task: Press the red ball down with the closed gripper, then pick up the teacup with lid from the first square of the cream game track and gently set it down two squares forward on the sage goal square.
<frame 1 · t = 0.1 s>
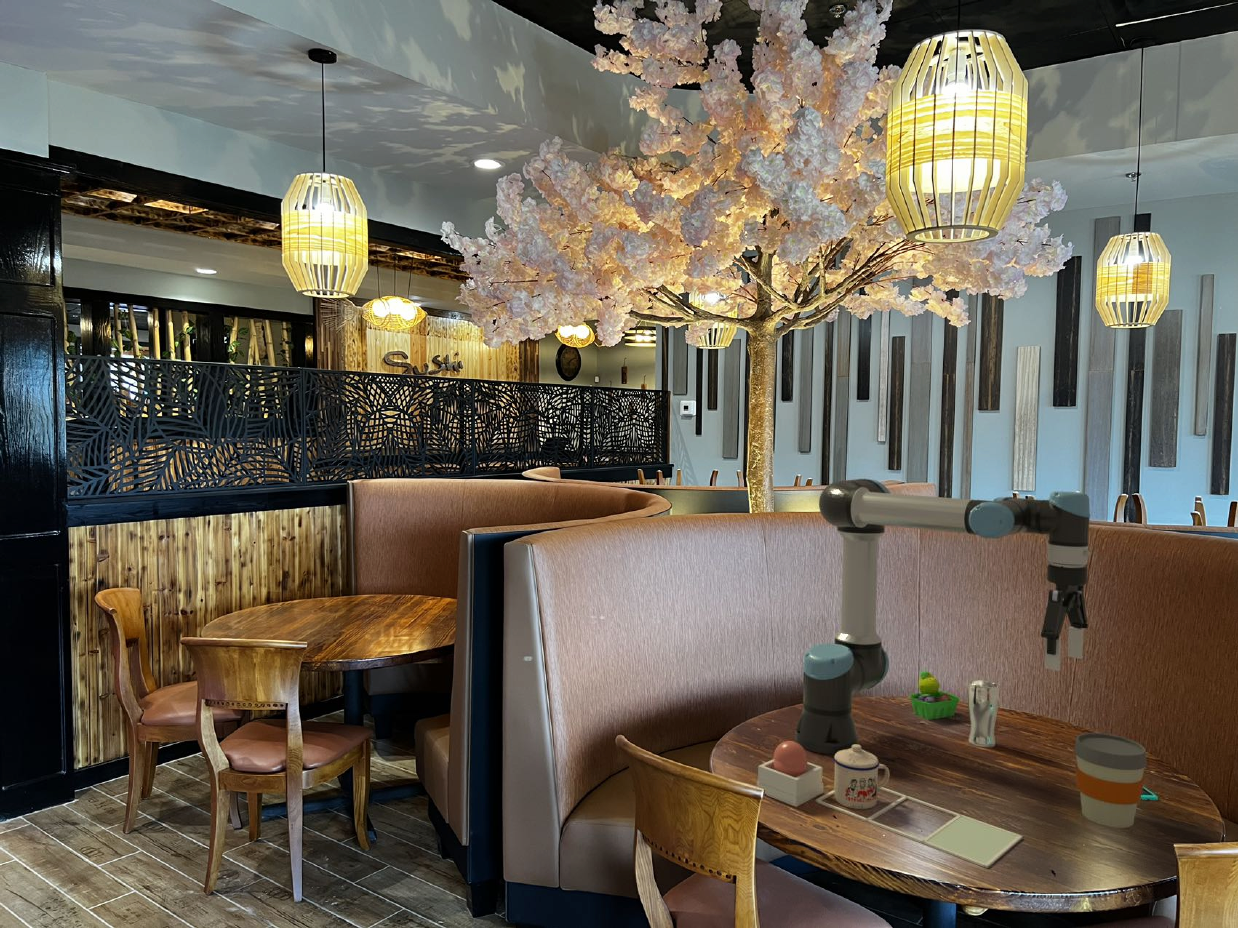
hand: (1063, 663, 178), 28 cm above the table, tool pointing down, fingers open, 13 cm apart
grey square box: (789, 791, 178), on the table
teacup with lid: (861, 800, 175), on the table
red ball: (790, 758, 178), point 7 cm above the table, slide at 0.0 cm
reusable coffee cup: (1107, 818, 168), on the table
beer glass: (981, 743, 207), on the table
game track: (914, 819, 166), on the table
handheld game console: (1114, 786, 184), on the table
fruit basket: (932, 715, 228), on the table
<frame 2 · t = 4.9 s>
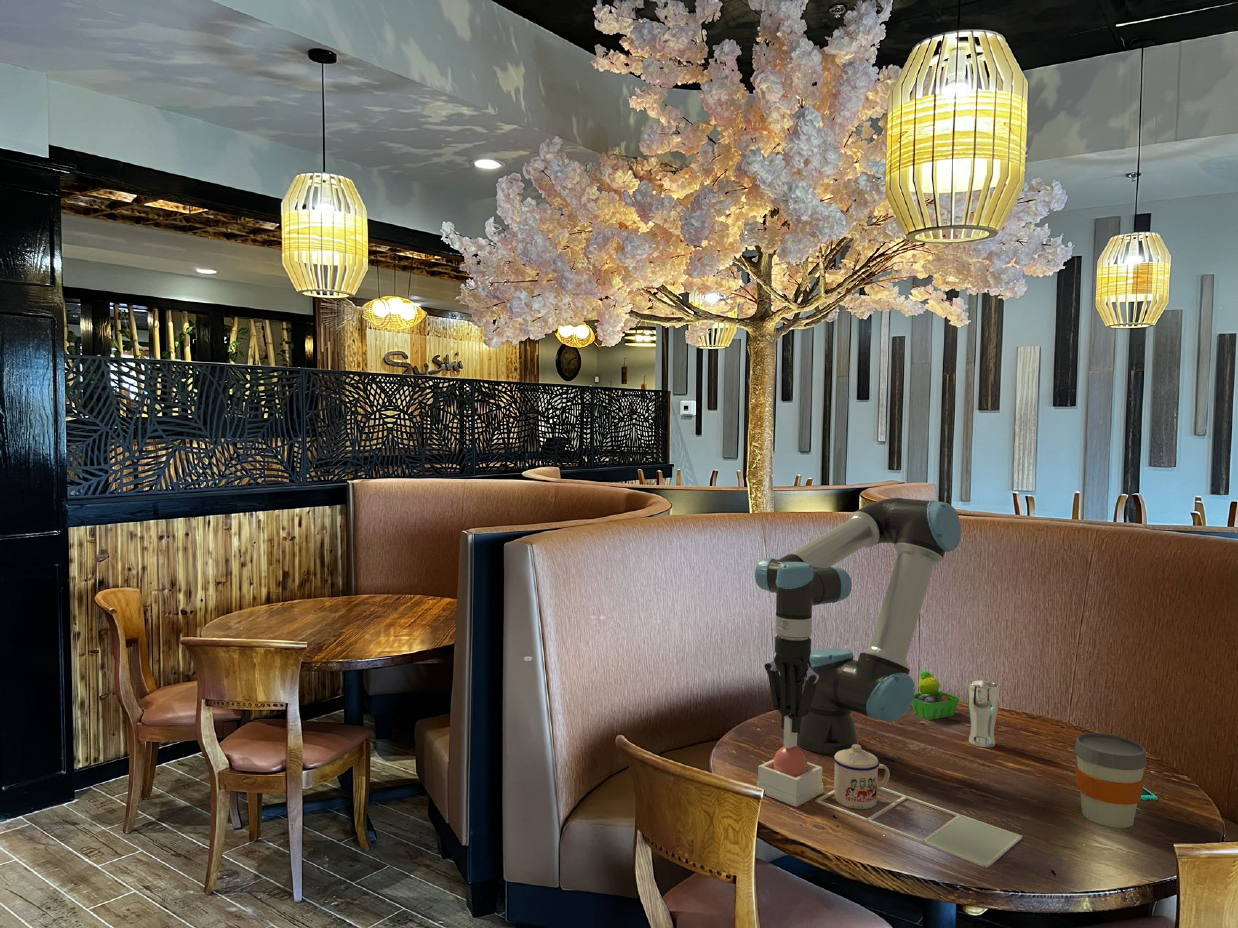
hand: (790, 745, 177), 10 cm above the table, tool pointing down, fingers closed
red ball: (790, 762, 178), point 6 cm above the table, slide at 1.0 cm, touching gripper
everything else where it was.
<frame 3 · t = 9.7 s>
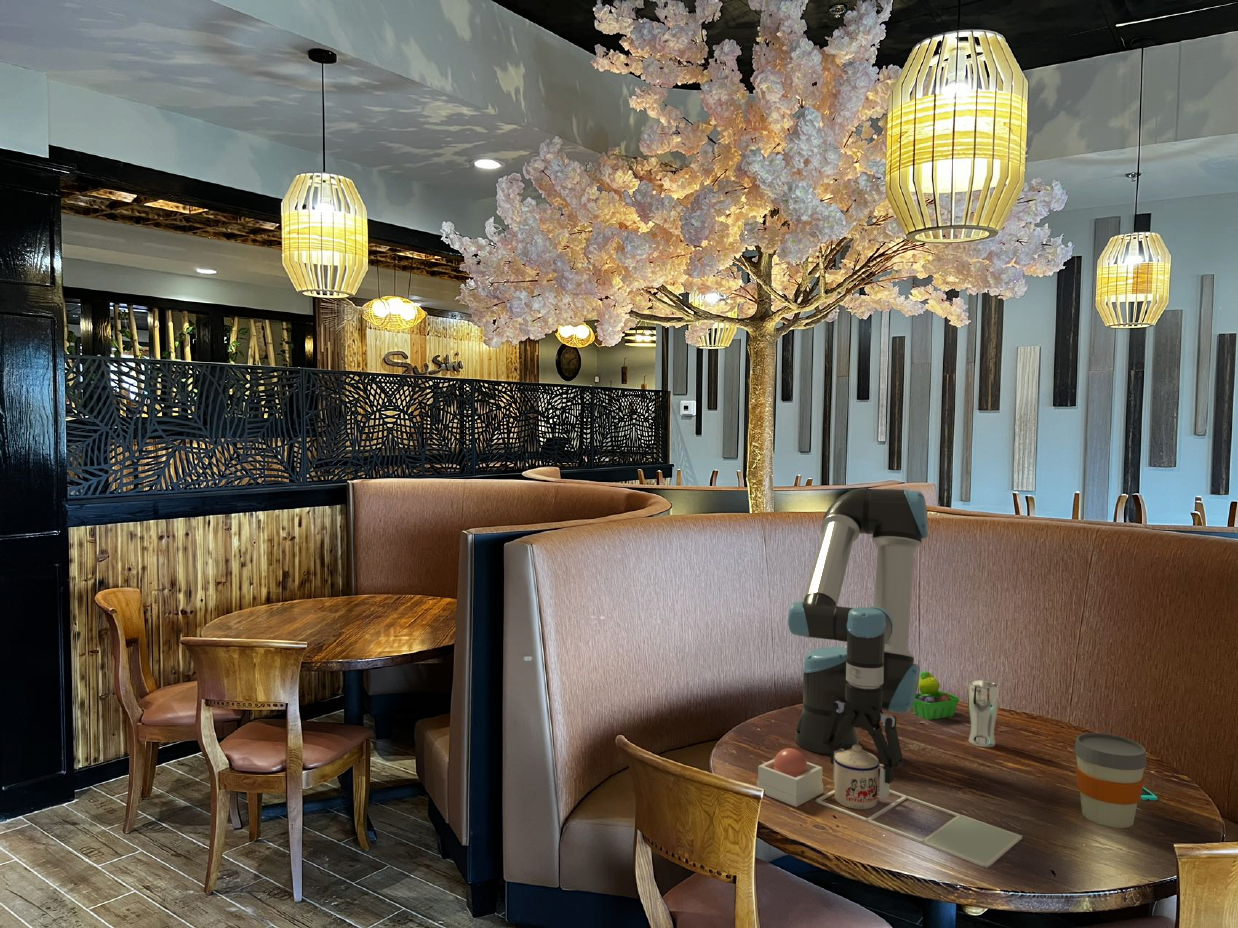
hand: (860, 788, 175), 2 cm above the table, tool pointing down, fingers open, 10 cm apart
teacup with lid: (862, 801, 174), on the table, touching gripper
red ball: (790, 765, 178), point 6 cm above the table, slide at 1.6 cm
everything else where it was.
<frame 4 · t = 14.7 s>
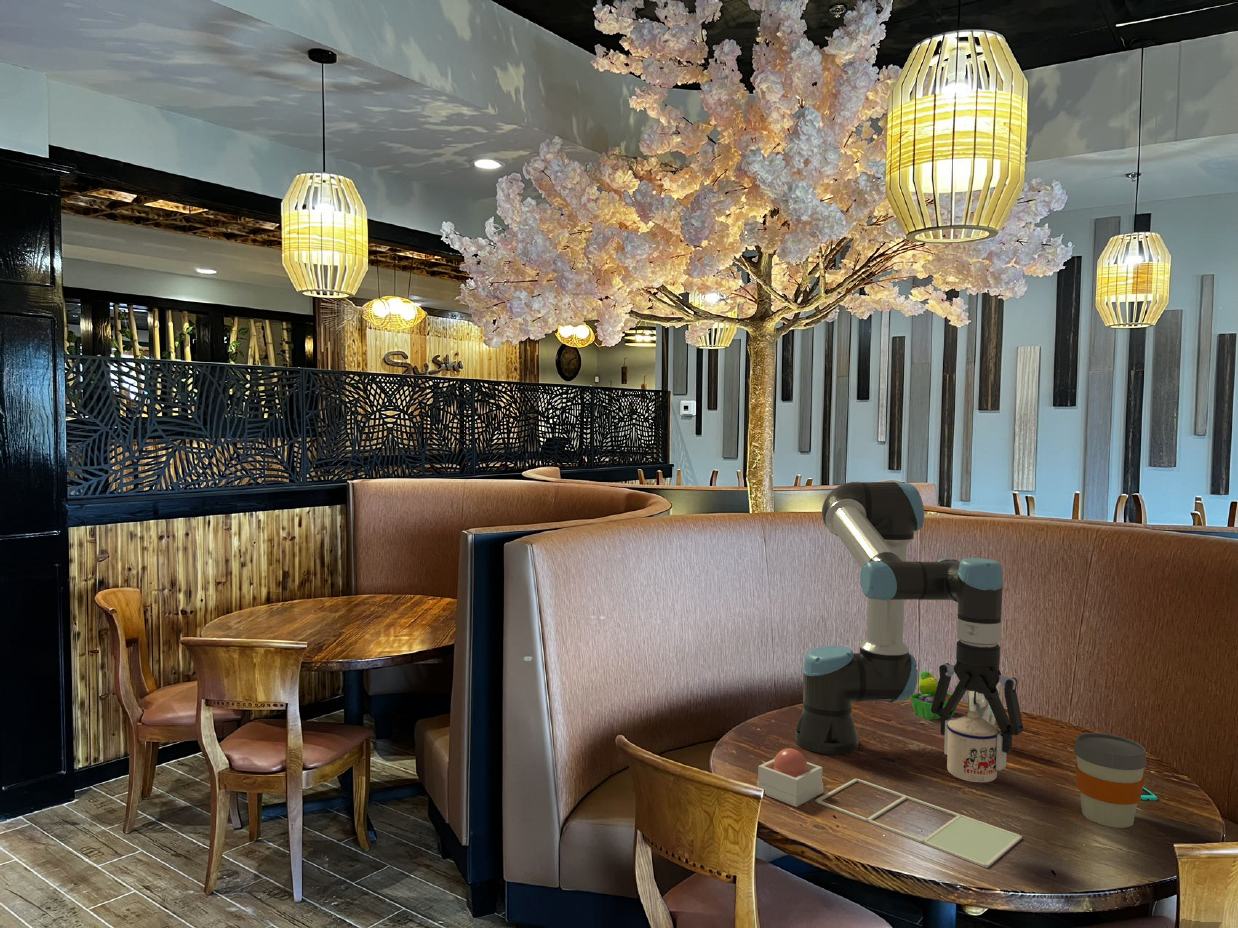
hand: (974, 760, 157), 15 cm above the table, tool pointing down, fingers closed on teacup with lid, 9 cm apart
teacup with lid: (978, 773, 157), point 13 cm above the table, touching gripper
everything else where it was.
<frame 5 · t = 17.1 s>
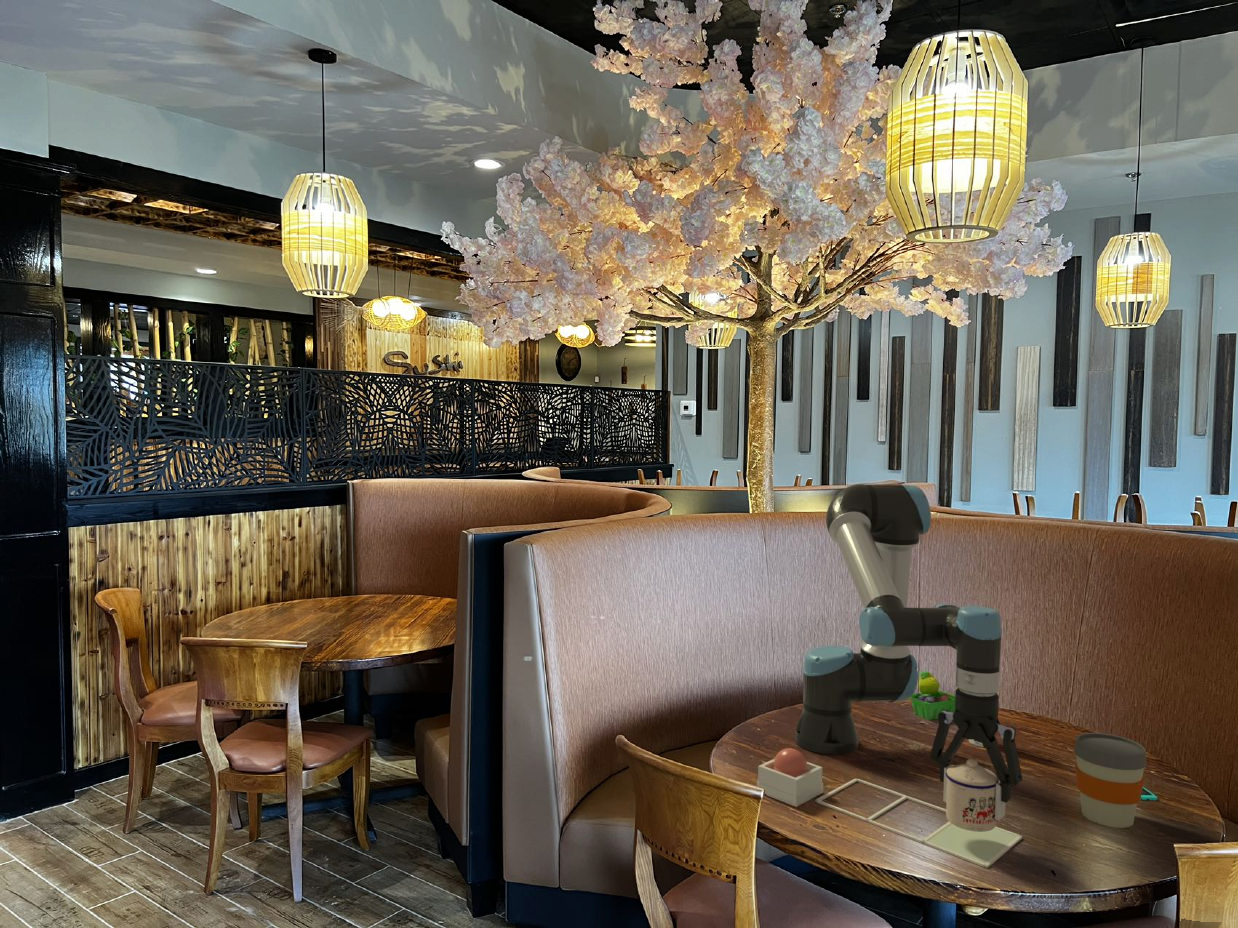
hand: (973, 808, 157), 6 cm above the table, tool pointing down, fingers closed on teacup with lid, 9 cm apart
teacup with lid: (977, 822, 157), point 4 cm above the table, touching gripper
everything else where it was.
when the fingers open (3 cm above the table, at t = 19.4 s): teacup with lid stays where it is, resting on game track.
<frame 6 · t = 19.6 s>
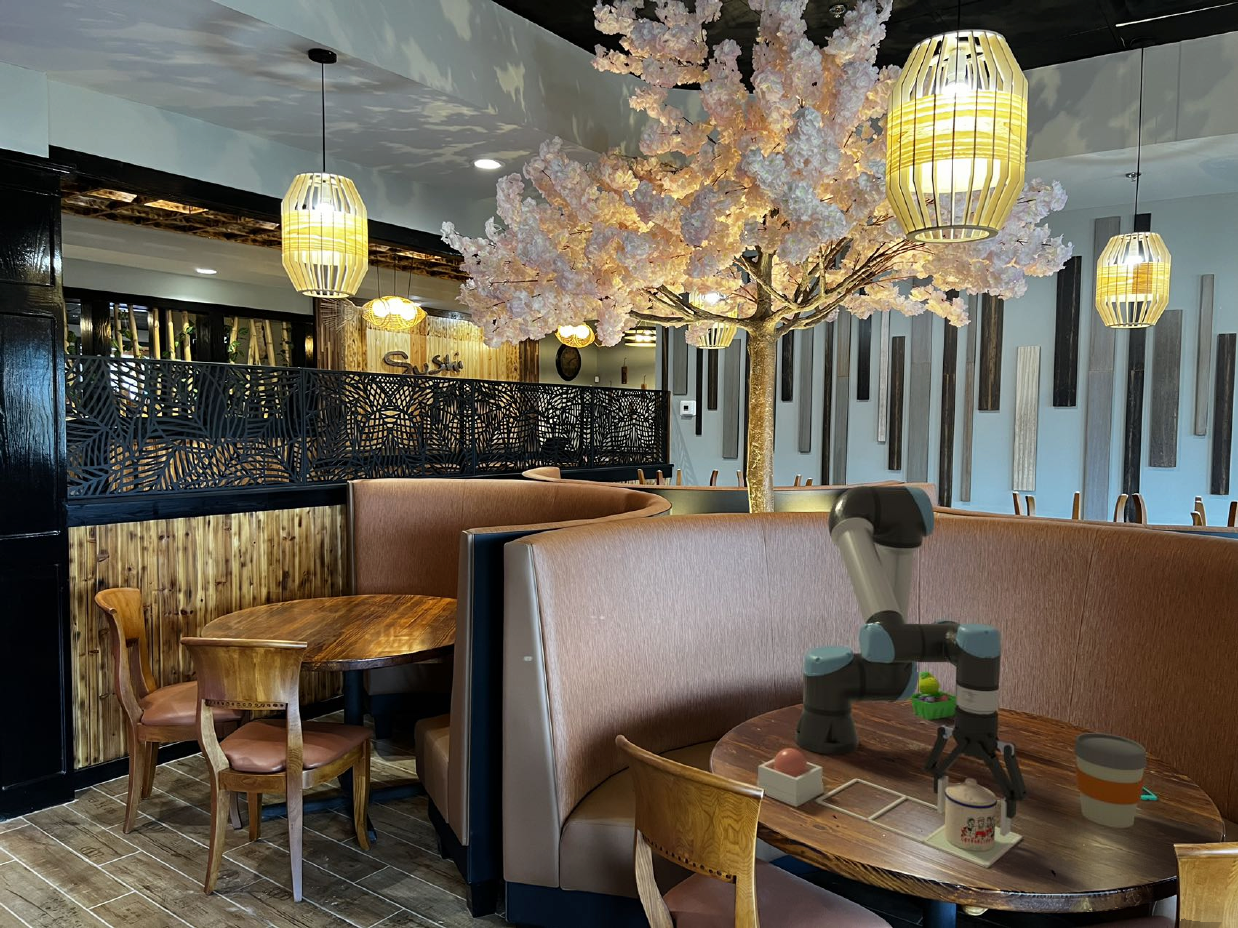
hand: (972, 821, 158), 4 cm above the table, tool pointing down, fingers open, 11 cm apart
teacup with lid: (976, 840, 157), resting on game track
everything else where it was.
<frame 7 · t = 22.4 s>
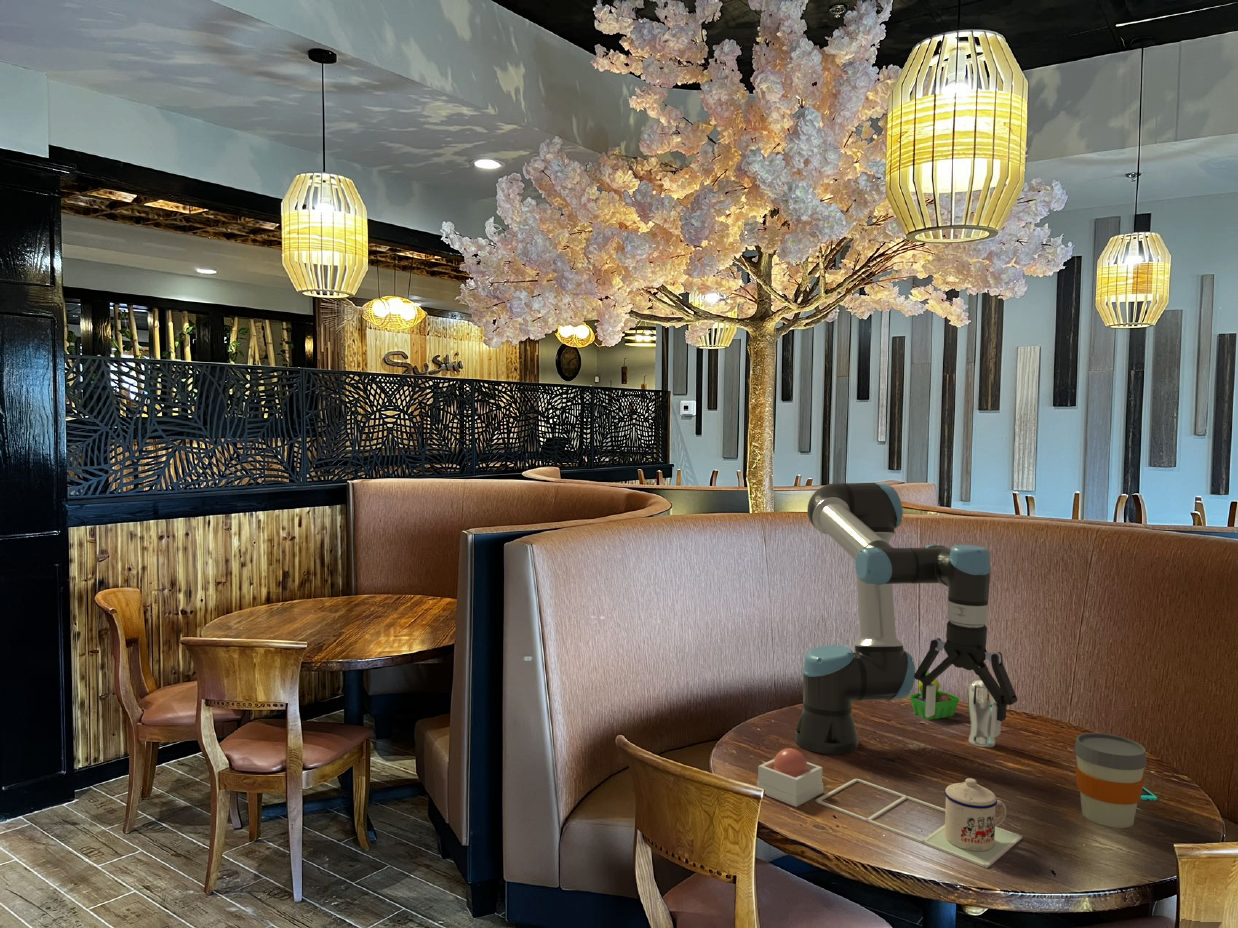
hand: (961, 725, 170), 18 cm above the table, tool pointing down, fingers open, 13 cm apart
nothing on the table moved.
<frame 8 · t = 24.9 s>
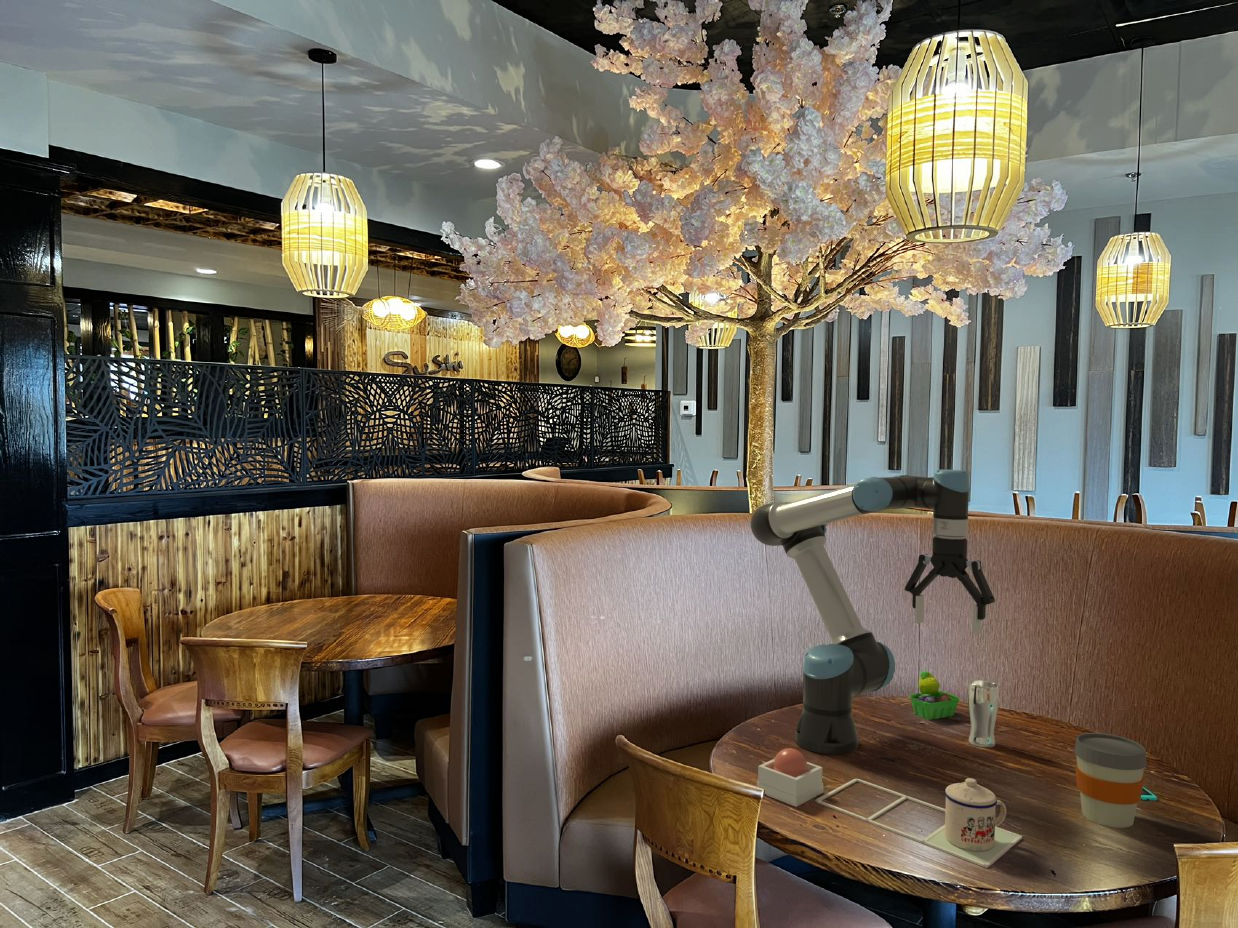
hand: (947, 627, 193), 32 cm above the table, tool pointing down, fingers open, 13 cm apart
nothing on the table moved.
at the end: red ball slide at 1.6 cm; teacup with lid inside the target area (0.5 cm from its centre), resting on game track; teacup with lid tilted 0° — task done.
